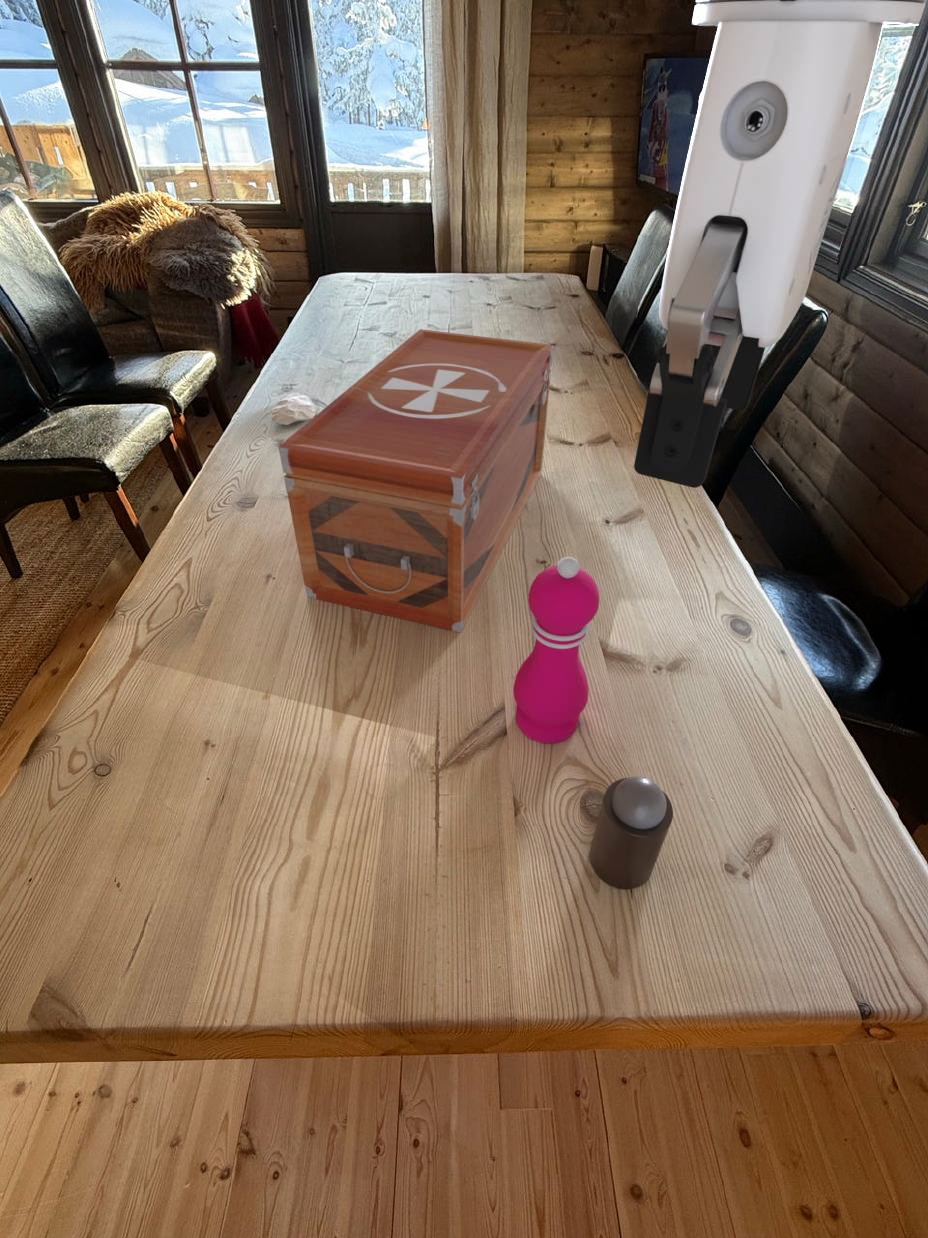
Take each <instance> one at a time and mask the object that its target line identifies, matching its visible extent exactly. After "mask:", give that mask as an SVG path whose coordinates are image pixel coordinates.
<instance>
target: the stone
mask: <svg viewBox="0 0 928 1238" xmlns="http://www.w3.org/2000/svg"><path fill="white" fill-rule="evenodd" d="M316 413H317V412H316V405H315V404H314V401H313V400H312V399H311V398H310V397H309V396H308V395H306V394H302V393H300V392H292V393H289V394H286V395H285V396H283V397H282V398H280V399H279V400H278V401H277V402H276V404H275V406H272V407H271V412H270V414H271V420H272V422H273V423H274V424H276V425H285V426H289V425H291V424H295V423H298V422H304V421H305V422H306V421H310V420H311V419H312V418H314V417H315V416H316Z"/></svg>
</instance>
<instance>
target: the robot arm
mask: <svg viewBox="0 0 928 1238" xmlns="http://www.w3.org/2000/svg"><path fill="white" fill-rule="evenodd" d="M926 2H928V1H927V0H695V4H696V5H694V9H693V15H692V20H691V25H693V26H700V27H701V26H702V27H712V26H713V27H714V26H715V27H717V30H716V32H715V33H716V34H715V36H714V40H713V44H712V50H711V54H710V58H709V62H708V65H707V70H706V74H705V79H704V82H703V87H702V91H701V92H700V94H699V97H698V98H699V99H698V107H697V113H696V116H695V121H694V124H693V125H694V126H693V129H692V134H691V138H690V143H689V147H688V152H687V156H686V160H685V165H684V170H683V175H682V179H681V184H680V189H679V194H678V198H677V203H676V206H675V207H676V208H675V213H674V218H673V222H672V228H671V232H670V236H669V237H670V238H669V244H668V248H667V254H666V259H665V265H664V270H663V276H662V283H661V289H660V297H659V305H658V319H659V320H660V323H661V324H662V325H663V327H664V328H665V329H666V330H667V333H666V337H665V340H664V343H663V345H662V346H660V348H659V350H658V354H657V358H658V359H657V360H656V365H655V368H654V371H653V373H652V376H651V381H650V385H649V388H648V393H647V398H646V404H645V406H644V407H645V408H644V412H643V418H642V423H641V428H640V433H639V439H638V443H637V447H636V454H635V459H634V464H633V468H634V471H635V472H636V473H637V474H638V475H642V476H645V477H649V478H654V479H657V480H661V481H665V482H669V483H673V484H677V485H681V486H685V487H688V488H693V489H696V488H700V487H701V486H702V485H703V483H704V482H705V480H706V478H707V475H708V471H709V468H710V464H711V461H712V457H713V453H714V449H715V446H716V443H717V438H718V435H719V432H720V428H721V425H722V422H723V418H724V414H725V410H726V409H731V410H735V411H743V410H745V409H746V408H747V406H748V404H749V403H750V400H751V396H752V393H753V390H754V387H755V383H756V380H757V377H758V374H759V370H760V368H761V367H760V366H761V363H762V360H763V357H764V353H765V351H766V348H768V347H770V346H772V345H774V344H775V343H777V342H778V341H779V340H781V338H782V337H783V336H784V334H785V333H786V331H787V329H788V328H789V327H790V325H791V323H792V321H793V320H794V318H795V316H796V314H797V313H798V311H799V309H800V307H801V306H802V304H803V302H804V299H805V297H806V294H807V292H808V288H809V284H810V281H811V278H812V275H813V271H814V267H815V264H816V260H817V258H818V254H819V251H820V248H821V244H822V242H823V238H824V234H825V231H826V229H827V225H828V222H829V220H830V215H831V212H832V209H833V205H834V203H835V200H836V197H837V195H838V194H837V193H838V190H839V188H840V184H841V181H842V178H843V174H844V171H845V167H846V165H847V161H848V158H849V154H850V152H851V148H852V146H853V142H854V138H855V135H856V133H857V128H858V126H859V122H860V118H861V115H862V111H863V108H864V105H865V100H866V97H867V94H868V91H869V86H870V83H871V78H872V76H873V75H872V74H873V70H874V66H875V62H876V58H877V54H878V49H879V45H880V40H881V36H882V32H883V28H890V27H891V28H894V27H896V28H897V27H910V26H913V27H914V26H919V25H920V22H921V19H922V16H923V14H924V10H925V7H926V4H925V3H926Z"/></svg>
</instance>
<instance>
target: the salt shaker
mask: <svg viewBox="0 0 928 1238" xmlns="http://www.w3.org/2000/svg"><path fill="white" fill-rule="evenodd" d="M673 818H674V808H673V805H672V802H671V800H670V798H669V797H668V795H667V794H666V793H665V791H664V790H663V789H662V788H661V787H660V785H658V783H657V782H655V781H654V780H652V779H650V778H648V777H645V776H639V775H635V776H629V777H623V778H620V779H617V780H615V781H614V782H612V783H611V784H610V785H609V786H608V787H607V788H606V790H605V791H604V795H603V799H602V802H601V806H600V810H599V814H598V818H597V821H596V825H595V830H594V834H593V836H592V841H591V845H590V849H589V862H590V865H591V868H592V870H593V872H594V873H595V874H596V876H597V877H598V878H599V879H600V880H601V881H602V882H604V883H605V884H606V885H608V886H610V887H613V888H615V889H619V890H625V891H628V890H635V889H637V888H640V887H642V886H644V884H646V883H647V882H648V881H649V880H650V877H651V876H652V873H653V871H654V868H655V865H656V863H657V861H658V857H659V855H660V853H661V851H662V847H663V845H664V844H665V843H664V842H665V840H666V838H667V835H668V832H669V829H670V828H671V825H672V822H673Z"/></svg>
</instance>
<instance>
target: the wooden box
mask: <svg viewBox="0 0 928 1238" xmlns="http://www.w3.org/2000/svg"><path fill="white" fill-rule="evenodd" d="M553 353H554V344H550V343H549V344H548V343H539V342H533V341H532V342H530V341H524V340H523V341H522V340H515V339H506V338H499V337H490V336H481V335H473V334H463V333H457V332H446V331H438V330H430V329H422V328H421V329H418V330H417V331H416V332H415V333H414V334H413V335H411V336H410V337H409V338H408V339H406V340H405V341H404V342H403V343H402V344H400V345H399V346H398V347H397V348H395V349H393V351H391V353H390V354H388V355H387V356H386V357H385V358H384V359H382V360H381V361H379V363H377V364H376V365H375V366H374V367H373V368H372V369H370V370H369V371H368V372H367V373H365V374H364V375H363V376H362V377H361V378H359V379H358V380H357V381H355V383H353V384H352V385H351V386H349V387H348V388H346V390H345V391H344V392H342V393H341V394H340V395H339V396H337V398H335V399H334V400H333V401H332V402H330V403H329V404H328V405H326V407H324V408H323V409H322V410H320V411H319V412H318V413H317V414H315V416H314V417H313V418H312V419H311V420H308V421H307V422H306V423H305V424H304V425H303V426H301V427H300V428H299V429H298V430H296V431H295V432H294V433H293V434H292V435H290V436H289V437H288V438H287V439H286V440H285V441H283V442H282V443H281V444H279V445H278V452H279V457H280V462H281V467H282V473H284V474H285V475H284V476H283V480H284V484H285V491H286V494H287V498H288V504H289V505H288V506H289V509H290V515H291V520H292V525H293V531H294V536H295V541H296V546H297V552H298V557H299V563H300V569H301V573H302V577H303V578H302V579H303V584H304V589H305V593H306V598H309V599H314V600H316V601H317V600H318V601H322V602H326V603H330V604H334V605H339V606H343V607H348V608H353V609H357V610H361V611H365V612H369V613H374V614H378V615H382V616H386V617H391V618H395V619H400V620H403V621H409V622H413V623H417V624H422V625H426V626H429V627H434V628H439V629H442V630H446V631H452V632H456V633H462V631H463V630H464V627H465V625H466V623H467V621H468V619H469V617H470V615H471V614H472V612H473V609H474V607H475V605H476V603H477V601H478V600H479V598H480V596H481V593H482V592H483V590H484V588H485V586H486V584H487V582H488V580H489V579H490V576H491V574H492V572H493V570H494V568H495V566H496V564H497V562H498V560H499V559H500V556H501V554H502V552H503V550H504V548H505V547H506V545H507V543H508V540H509V538H510V537H511V534H512V533H513V531H514V529H515V527H516V524H517V523H518V521H519V519H520V517H521V515H522V513H523V511H524V510H525V507H526V505H527V503H528V501H529V499H530V497H531V495H532V494H533V492H534V489H535V487H536V485H537V483H538V481H539V479H540V477H541V475H542V472H543V471H542V470H543V461H544V450H545V439H546V429H547V420H548V419H547V417H548V408H549V407H548V406H549V397H550V387H551V380H552V379H551V377H552V369H551V368H552V364H553Z"/></svg>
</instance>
